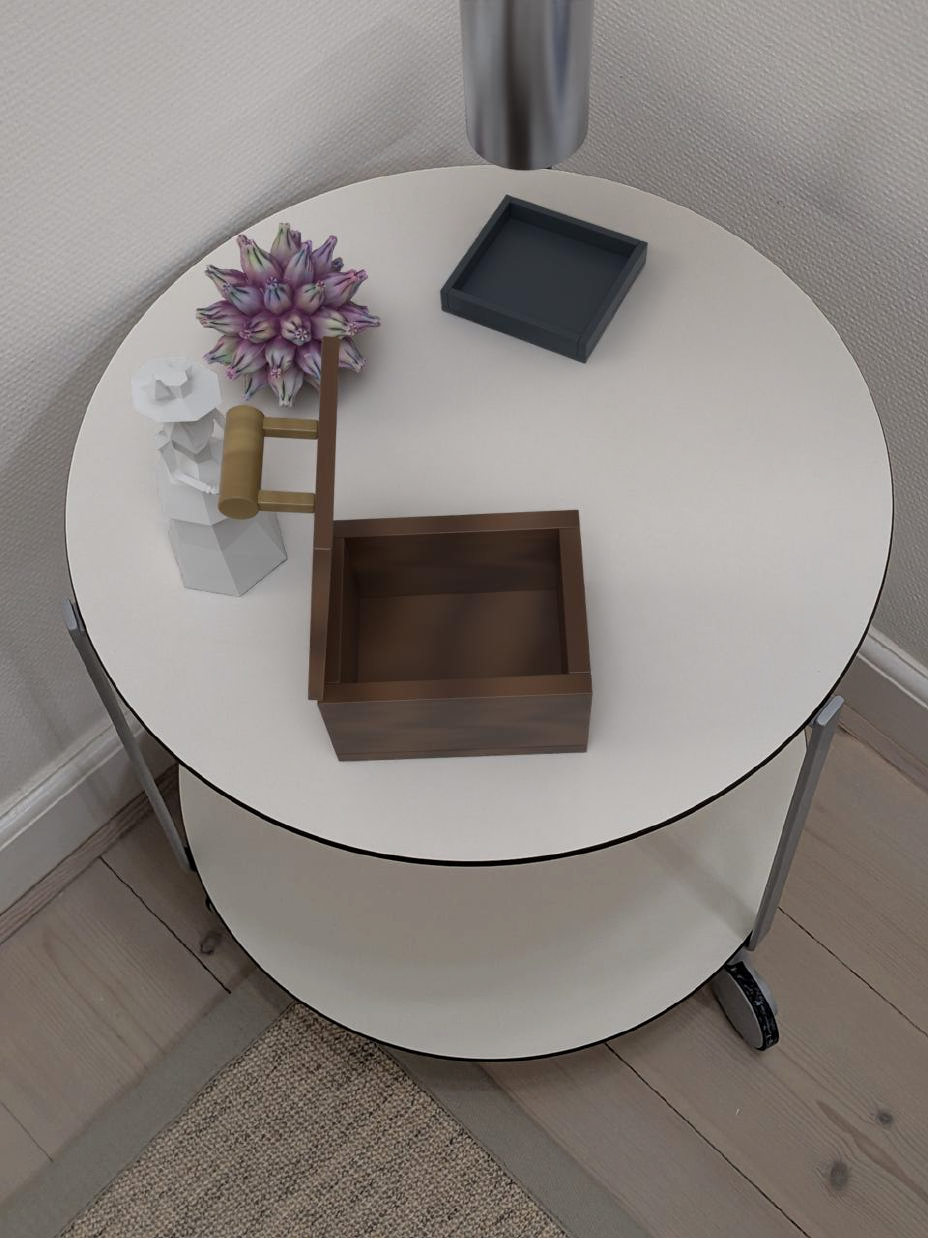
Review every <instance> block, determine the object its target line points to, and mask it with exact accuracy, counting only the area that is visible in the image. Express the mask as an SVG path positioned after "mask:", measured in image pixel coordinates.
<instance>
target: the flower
mask: <svg viewBox="0 0 928 1238" xmlns="http://www.w3.org/2000/svg"><path fill="white" fill-rule="evenodd" d="M235 242H236V243H237V246H238V248H239V256H240V259H239V263H240V267H241V269H242V271H241V270H239V269H234V268H229V269H228V268H219V267H217V266H214V265H213V264H207V265H206V269H205V270H203V274H204V275H205V276H206V277H207V278H208V279H210V280H211V281H212V282H213V284H214V285H215V287H216V289H217V291H218V293H219V294H220V296H221V297H222V298H223V299H224V300H218V301H216V302H214V303H212V304H210V305H208V306H206V307H198V308H196V309H195V311H194V312H195V313H196V314H195V319H196V320H197V321H198V320H199V323H200V325H202V328H204V329H214V330H215V331H217V332H219V333H220V334H222V336H221V337H220V338H218V340H217V343H216V344H215V346H214V347H213V349H211V350H210V351H209V352H207V353H206V354H204V355H203V357H202V359H203V360H204V361H207V365H213V364H214V363H220V364H221V365H224V367H227V366H228V368H227V370H226V371H225V375H227V377H228V379H230V380H231V381H235V380H236V379H238V378H239V377H241V376H243V379H244V380H243V381H244V391H243V392H242V398H245V401H246V402H248V401H250V402H251V401H252V399H253V398H254V396H255V395H256V394H257V393H258V392H260V391H261V390H263V389H264V388H265V387H267V386H268V385H270V387H271V390H272V391H273V392H274V394H275V395H276V397H277V401H278V407H279V408H283V409H286V408H289V409H290V408H293V407H295V405H296V399H297V395H298V393H299V391H300V389H301V388H302V385H303V384H304V381H305V382H307V383H309V384H310V385H311V386H313V387H314V389H315V390H316V392H317V393H319V394H320V373H321V350H322V337H323V336H332V337H339V339H340V343H339V368H347V369H350V370H352V371H353V372H355V373H357V374H359V373H361V372H362V371H363V369H364V368H365V364H366V361H367V358H366V357H365V356H364V355H362V354H361V353H360V351H359V350H358V348H357V346H356V344H355V342H354V341H353V339H352V337H353V336H355V335H357V334H359V333H362V332H363V331H366V330H367V329H369V328H379V327H380V326H381V322H379V321H380V317H379V316H377V315H370V314H369V313H370V309H369V308H368V305H359V304H357V303H355V302H354V301H351V299H352V298H354V296H355V295H356V293H357V292H358V290H359V288H360V286H361V285H362V283H364V282H366V280H368V279H369V275H368V274H367V273H366V272H367V270H365V269H364V268H363V269H360V270H358V271H357V270H356V269H354V268H352V269H349V270H348V271H344V272H343V271H342V269H343V268H344V267H345V264H344V260H343V258H342V257H341V256H338V257H337V258H335V259H333V257H334V250H335V248H336V246H337V244H338V237H337V236H336V235H332V234H331V235H328V237H327V239H326V240H325V242H324V243H323V244H322V245H320V246H319V247H318V248H316V249H314V250H313V240H311V239H308V240H305V241H304V240H303V241H302V232H300V231H299V230H293V229H291V224H290V222H286V223H285V222H284V223H283V222H280V223H278V232H277V235H276V237H275V238H274V240H273V242H272V245H271V248H270V250H269V252H268V251H266V250H264V249H262V248H261V247H259V246H258V244H257V243H256V241H255V240H254V239H253V238H250V239H249V238H248V237H247V235H245V234H238V235H237V238H235ZM350 336H352V337H350Z"/></svg>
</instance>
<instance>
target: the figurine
mask: <svg viewBox="0 0 928 1238" xmlns="http://www.w3.org/2000/svg"><path fill="white" fill-rule="evenodd" d="M130 388H131V394H132V404H133V410H134V411H136V412H137V413H139V414H141V415H143V416H145V417H147V418H149V419H151V420H153V421H155V422H157V423H162V430H160V431H158V432H156V433H155V434H153V435H152V438H153V441H154V444H155V446H156V449H157V450H158V451H159V453H160V457H159V458H158V459H157V461H156V463H155V464H154V465H153V467H152V468H153V473H154V478H155V482H156V487H157V492H158V498H159V502H160V508H161V512H162V518H165V519H169V524H168V536H169V540H170V543H171V546H172V549H173V553H174V556H175V559H176V563H177V567H178V569H179V572H180V576H181V579H182V582H183V587H184V588H187V589H192V590H199V591H204V592H209V593H210V592H211V593H215V594H222V595H228V596H232V597H233V596H234V597H239V598H240V597H241V596H243V595H244V594H245V593H246V592H248V591H249V590H250V589H251V588H252V587H254V586H255V585H256V584H258V583H259V582H260V581H261V580H262V579H264V577H266V576H267V575H268V574H269V573H271V572H272V571H273V570H274V569H276V568H277V567H278V566H279V565H281V564H282V563H283V562H284V561H285V560H286V559H287V558H288V557H287V553H286V550H285V546H284V542H283V539H282V535H281V531H280V527H279V524H278V523H279V522H278V519H277V516H276V512H271V511H259V512H258V514H257V515H256V516H254V517H252V518H249V519H243V520H239V519H232V518H229V517H227V516H225V515H223V514H222V513H221V512H220V511H219V509H218V497H219V486H220V474H221V463H222V451H223V440H224V438H221V437H216V436H213V433H214V429H215V423H216V424H217V425H218V426H219V427H220V429H222V431H224V428H225V417H226V416H224V414H223V413H222V412H221V411H220V409H217V407H219V405H221V404H223V399H222V394H221V388H220V383H219V377H218V374H217V373H216V372H214V371H212V370H210V369H209V368H208V367H206V366H204V365H202V364H201V363H200V362H198V361H196V360H195V359H194V358H191V357H189V356H188V355H180V356H168V357H164V356H163V355H161V357H158V358H157V357H154V358H148V359H147V360H146V361H145V362H144V363H143V365H141V366H140V367H139V369H138V370H137V371H136V372H135V374H134V375H133V376H132V377H131V379H130ZM214 421H215V422H214Z"/></svg>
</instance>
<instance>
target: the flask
mask: <svg viewBox="0 0 928 1238" xmlns="http://www.w3.org/2000/svg"><path fill="white" fill-rule="evenodd" d="M458 5H459V22H460V23H459V24H460V41H461V44H460V45H461V59H462V60H461V61H462V79H463V97H464V113H465V114H464V115H465V132H466V137H467V140H468V143H469V144H470V146H471V148H472V149H473V150H474V152H475V153H476V154H477V155H478V156H479V157H480V158H482V159H483V160H485V161H487V162H488V163H489V164H492V165H494V166H496V167H499V168H502V169H506V170H510V171H511V170H512V171H521V172H523V171H524V172H529V171H530V172H531V171H538V170H544V169H548V168H551V167H554V166H557V165H559V164H561V163H563V162H565V161H566V160H568V159H570V158H571V157H572V156H574V155H575V154H576V153H577V152H578V151H579V150H580V148H581V147H582V146H583V144H584V142H585V141H586V138H587V135H588V131H589V114H590V94H591V77H592V75H591V74H592V57H593V56H592V54H593V38H594V37H593V36H594V18H595V0H458Z"/></svg>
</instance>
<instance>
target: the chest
mask: <svg viewBox="0 0 928 1238" xmlns="http://www.w3.org/2000/svg"><path fill="white" fill-rule="evenodd" d="M580 524H581V521H580V510H579V509H561V510H559V509H558V510H537V511H516V512H514V511H513V512H493V513H492V512H491V513H470V514H469V513H468V514H448V515H425V516H402V517H401V516H400V517H381V518H380V517H379V518H378V517H377V518H376V517H375V518H355V519H336V520H335V519H333V545H332V563H331V580H330V596H329V613H328V629H327V646H326V662H325V679H324V695H323V700H322V701H319V700H316V705H317V708H318V711H319V713H320V716H321V718H322V721H323V723H324V726H325V729H326V732H327V734H328V737H329V739H330V742H331V745H332V748H333V751H334V753H335V755H336V758H337V760H338V762H362V761H363V762H364V761H365V762H366V761H386V760H391V761H392V760H414V759H415V760H416V759H442V758H443V759H445V758H465V757H466V758H467V757H469V758H470V757H471V758H472V757H496V756H520V755H521V756H522V755H525V756H526V755H547V754H548V755H549V754H552V755H553V754H577V753H578V754H579V753H587V751H588V743H589V734H590V723H591V713H592V703H593V679H592V669H591V668H592V666H591V655H590V654H591V653H590V642H589V628H588V626H589V625H588V616H587V603H586V602H587V600H586V587H585V574H584V573H585V572H584V560H583V547H582V535H581V534H582V533H581V525H580Z"/></svg>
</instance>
